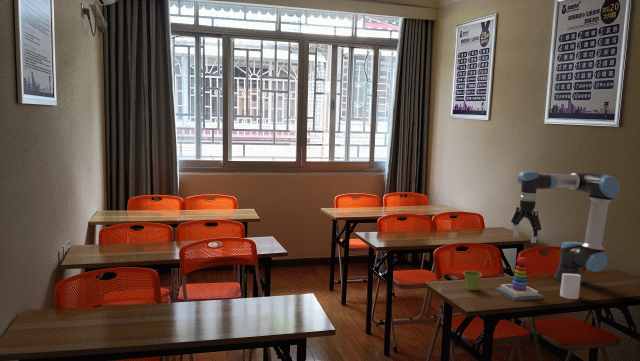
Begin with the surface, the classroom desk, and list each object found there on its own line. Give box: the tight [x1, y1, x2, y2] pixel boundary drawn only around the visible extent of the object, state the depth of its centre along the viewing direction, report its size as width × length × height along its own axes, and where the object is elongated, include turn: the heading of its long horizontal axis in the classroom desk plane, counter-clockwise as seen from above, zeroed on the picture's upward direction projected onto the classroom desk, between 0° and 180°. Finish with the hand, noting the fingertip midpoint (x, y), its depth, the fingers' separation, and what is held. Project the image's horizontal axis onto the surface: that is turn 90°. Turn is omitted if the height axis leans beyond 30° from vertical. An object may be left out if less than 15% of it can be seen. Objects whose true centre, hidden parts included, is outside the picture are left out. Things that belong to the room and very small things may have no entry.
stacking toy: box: [511, 256, 528, 292], centre depth 272 cm, size 8×8×19 cm
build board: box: [494, 283, 544, 302], centre depth 273 cm, size 18×16×4 cm
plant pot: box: [463, 270, 483, 292], centre depth 277 cm, size 9×9×9 cm
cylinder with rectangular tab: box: [559, 273, 581, 300], centre depth 274 cm, size 9×9×12 cm
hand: (524, 239), depth 273 cm, fingers open, 13 cm apart
